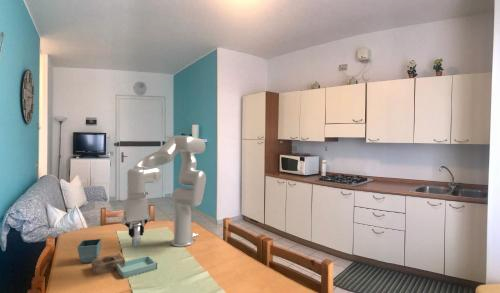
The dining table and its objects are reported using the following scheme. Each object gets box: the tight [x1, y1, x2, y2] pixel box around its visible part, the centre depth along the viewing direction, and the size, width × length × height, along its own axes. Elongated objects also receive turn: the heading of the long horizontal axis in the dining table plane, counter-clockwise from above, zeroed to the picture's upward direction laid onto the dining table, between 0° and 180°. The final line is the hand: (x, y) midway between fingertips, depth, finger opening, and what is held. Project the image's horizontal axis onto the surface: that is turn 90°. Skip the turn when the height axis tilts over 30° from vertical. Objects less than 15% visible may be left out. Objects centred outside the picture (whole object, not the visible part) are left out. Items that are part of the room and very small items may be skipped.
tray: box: [116, 255, 158, 279], centre depth 133 cm, size 15×11×3 cm
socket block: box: [91, 253, 126, 277], centre depth 133 cm, size 12×9×4 cm
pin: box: [131, 221, 142, 247], centre depth 132 cm, size 5×5×10 cm
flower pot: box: [77, 238, 103, 264], centre depth 141 cm, size 9×9×9 cm
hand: (136, 235), depth 132 cm, fingers closed on pin, 3 cm apart
